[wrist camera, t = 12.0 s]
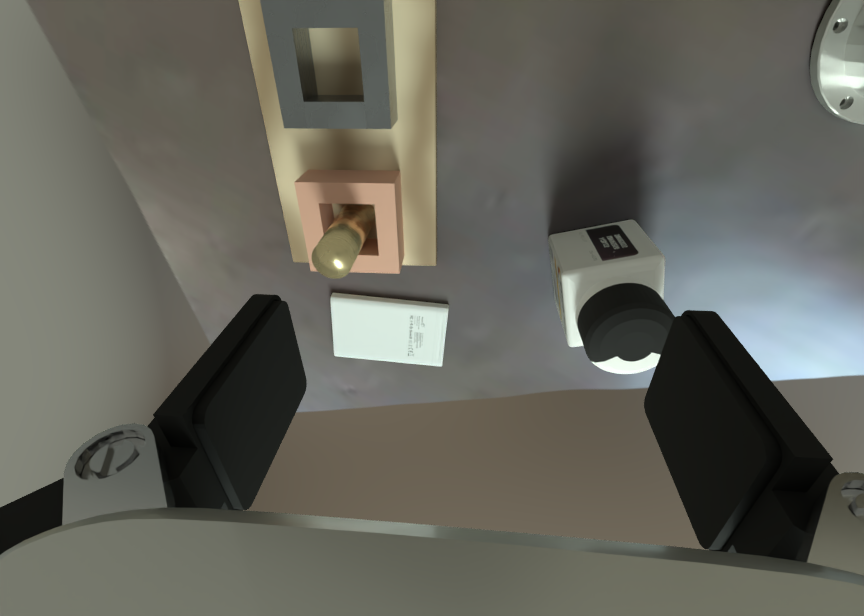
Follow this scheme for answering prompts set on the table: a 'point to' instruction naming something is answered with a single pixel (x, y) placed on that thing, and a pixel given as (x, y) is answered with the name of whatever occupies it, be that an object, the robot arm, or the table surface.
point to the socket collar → (355, 188)
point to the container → (611, 295)
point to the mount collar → (294, 69)
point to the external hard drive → (388, 329)
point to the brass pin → (343, 240)
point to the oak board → (360, 148)
